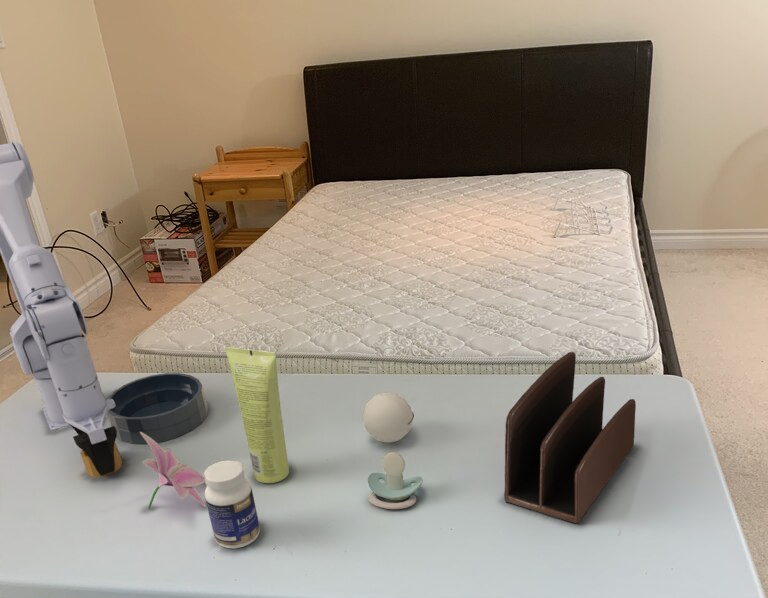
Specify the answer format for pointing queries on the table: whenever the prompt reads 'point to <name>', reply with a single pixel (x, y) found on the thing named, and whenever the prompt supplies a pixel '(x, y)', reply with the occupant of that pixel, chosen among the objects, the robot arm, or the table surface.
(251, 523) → the pill bottle
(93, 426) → the robot arm
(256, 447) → the tube
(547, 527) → the table surface
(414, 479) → the pacifier
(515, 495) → the letter holder
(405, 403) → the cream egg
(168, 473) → the lily
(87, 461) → the ring
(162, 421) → the bowl
